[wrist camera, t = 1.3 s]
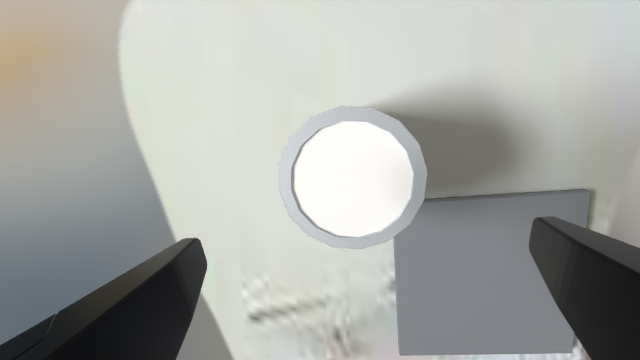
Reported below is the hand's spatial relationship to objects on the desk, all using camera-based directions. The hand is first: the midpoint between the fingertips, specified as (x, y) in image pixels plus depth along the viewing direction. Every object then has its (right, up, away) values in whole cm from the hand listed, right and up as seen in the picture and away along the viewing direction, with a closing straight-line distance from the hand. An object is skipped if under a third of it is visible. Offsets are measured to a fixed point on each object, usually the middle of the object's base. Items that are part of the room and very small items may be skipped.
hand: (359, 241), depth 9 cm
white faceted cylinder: (+1, +3, +13) cm, 14 cm away
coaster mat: (+10, -5, +14) cm, 18 cm away
